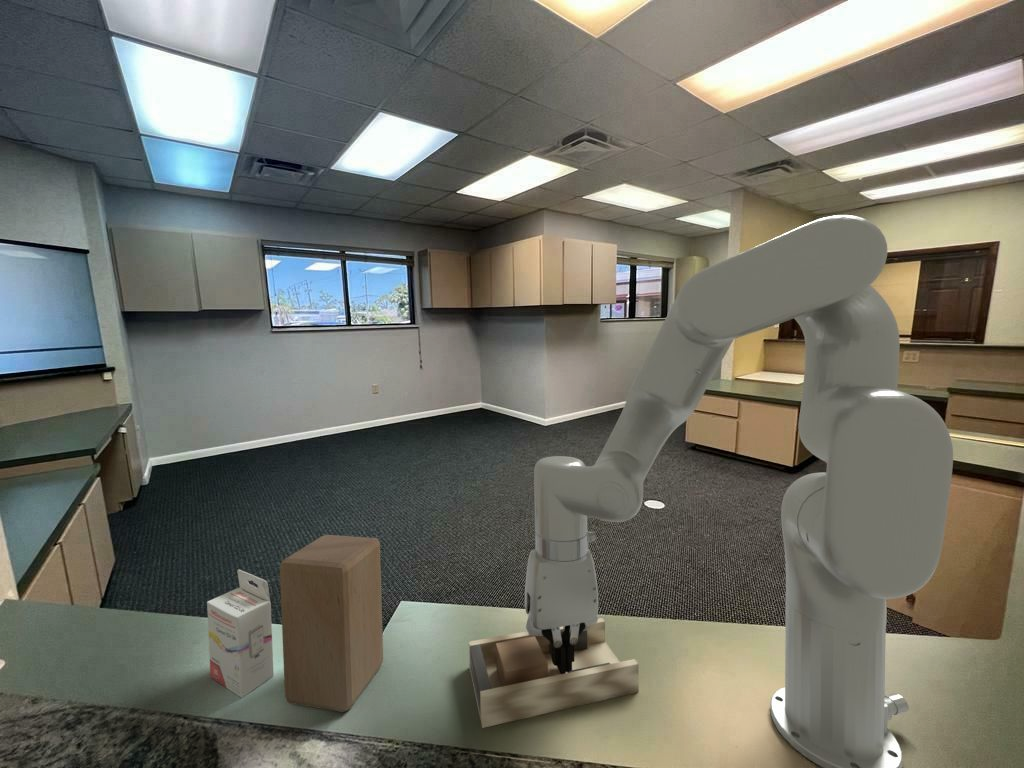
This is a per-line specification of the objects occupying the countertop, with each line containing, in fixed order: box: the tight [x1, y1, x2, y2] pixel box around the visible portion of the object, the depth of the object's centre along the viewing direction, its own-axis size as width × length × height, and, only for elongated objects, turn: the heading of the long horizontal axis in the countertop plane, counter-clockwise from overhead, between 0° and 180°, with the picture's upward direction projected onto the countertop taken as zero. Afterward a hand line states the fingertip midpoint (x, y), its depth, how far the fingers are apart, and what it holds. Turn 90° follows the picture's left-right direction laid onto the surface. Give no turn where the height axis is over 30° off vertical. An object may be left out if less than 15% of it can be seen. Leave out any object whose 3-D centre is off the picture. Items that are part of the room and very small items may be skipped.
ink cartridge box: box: [206, 568, 275, 698], centre depth 61 cm, size 9×5×15 cm, turn 62°
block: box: [279, 534, 384, 713], centre depth 60 cm, size 10×10×20 cm
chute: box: [468, 617, 640, 729], centre depth 60 cm, size 22×11×4 cm, turn 104°
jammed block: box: [496, 636, 548, 687], centre depth 59 cm, size 6×6×4 cm
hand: (562, 666), depth 61 cm, fingers closed
